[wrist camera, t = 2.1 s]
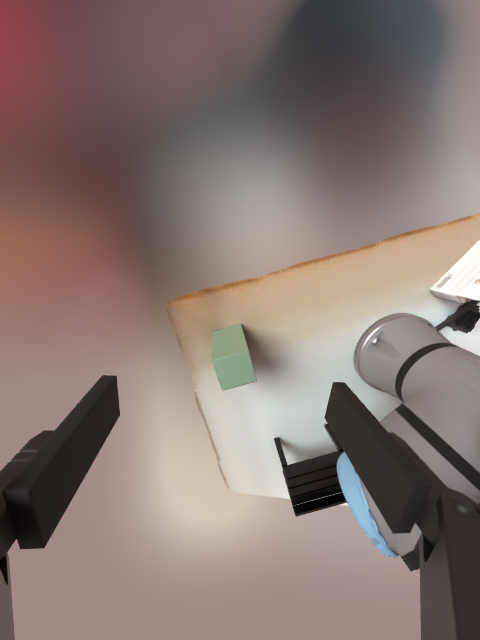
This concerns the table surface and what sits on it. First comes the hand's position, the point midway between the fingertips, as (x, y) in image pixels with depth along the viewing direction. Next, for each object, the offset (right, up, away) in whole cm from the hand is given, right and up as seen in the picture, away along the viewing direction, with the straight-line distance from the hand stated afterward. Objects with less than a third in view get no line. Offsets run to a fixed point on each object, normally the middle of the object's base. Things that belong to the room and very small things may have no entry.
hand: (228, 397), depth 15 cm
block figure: (+42, +5, +30) cm, 52 cm away
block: (-1, +1, +27) cm, 27 cm away
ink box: (+38, +14, +26) cm, 48 cm away
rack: (+15, -24, +37) cm, 47 cm away
